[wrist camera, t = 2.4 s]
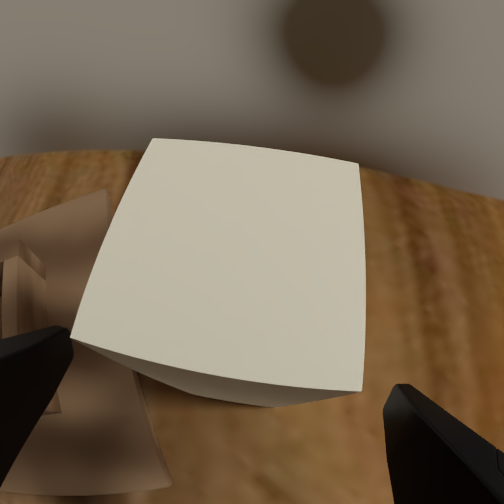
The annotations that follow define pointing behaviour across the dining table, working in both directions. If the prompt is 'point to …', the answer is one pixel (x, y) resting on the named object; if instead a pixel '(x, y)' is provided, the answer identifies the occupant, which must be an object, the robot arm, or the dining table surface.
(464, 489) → the robot arm
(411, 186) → the dining table surface
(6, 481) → the leg socket
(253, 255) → the stool leg
